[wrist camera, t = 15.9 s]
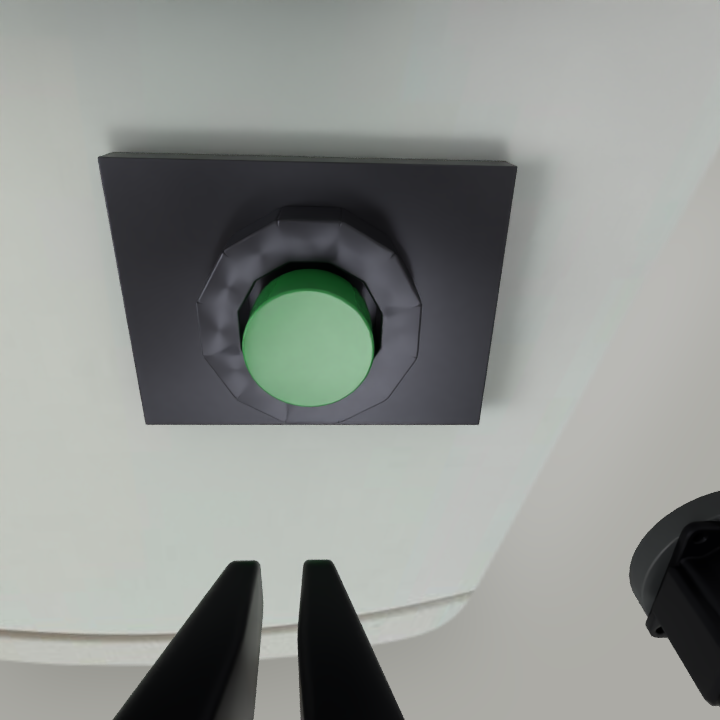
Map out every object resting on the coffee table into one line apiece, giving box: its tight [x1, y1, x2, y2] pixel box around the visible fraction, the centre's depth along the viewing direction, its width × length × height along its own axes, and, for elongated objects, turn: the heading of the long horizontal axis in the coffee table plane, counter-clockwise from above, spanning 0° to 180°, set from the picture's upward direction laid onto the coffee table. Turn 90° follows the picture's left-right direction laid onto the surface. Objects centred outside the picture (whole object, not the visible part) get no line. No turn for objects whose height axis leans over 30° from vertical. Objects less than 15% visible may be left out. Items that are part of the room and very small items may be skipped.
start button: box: [242, 269, 375, 407], centre depth 16 cm, size 4×4×2 cm
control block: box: [98, 152, 517, 425], centre depth 17 cm, size 12×9×3 cm
